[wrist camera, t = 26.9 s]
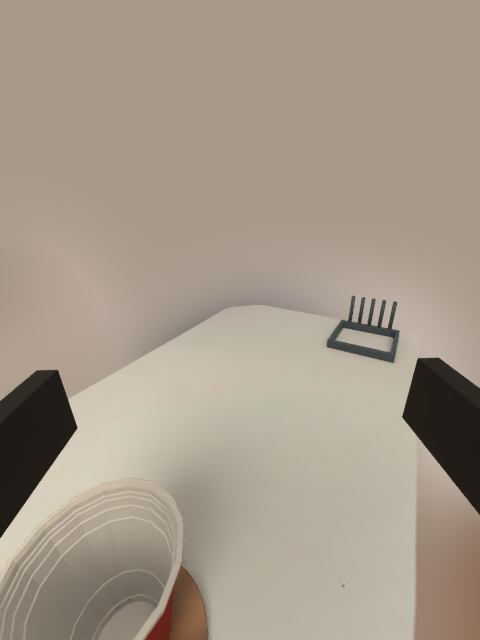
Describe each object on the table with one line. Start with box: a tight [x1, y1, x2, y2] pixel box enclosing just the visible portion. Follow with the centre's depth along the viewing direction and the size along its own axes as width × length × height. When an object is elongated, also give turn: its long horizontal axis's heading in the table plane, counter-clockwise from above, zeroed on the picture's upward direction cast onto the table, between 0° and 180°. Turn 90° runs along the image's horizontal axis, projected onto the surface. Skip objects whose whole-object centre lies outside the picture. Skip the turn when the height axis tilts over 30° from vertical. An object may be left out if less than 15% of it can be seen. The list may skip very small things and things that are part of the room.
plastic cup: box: [0, 478, 184, 640], centre depth 18 cm, size 11×11×12 cm
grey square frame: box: [327, 296, 399, 362], centre depth 65 cm, size 14×14×9 cm
